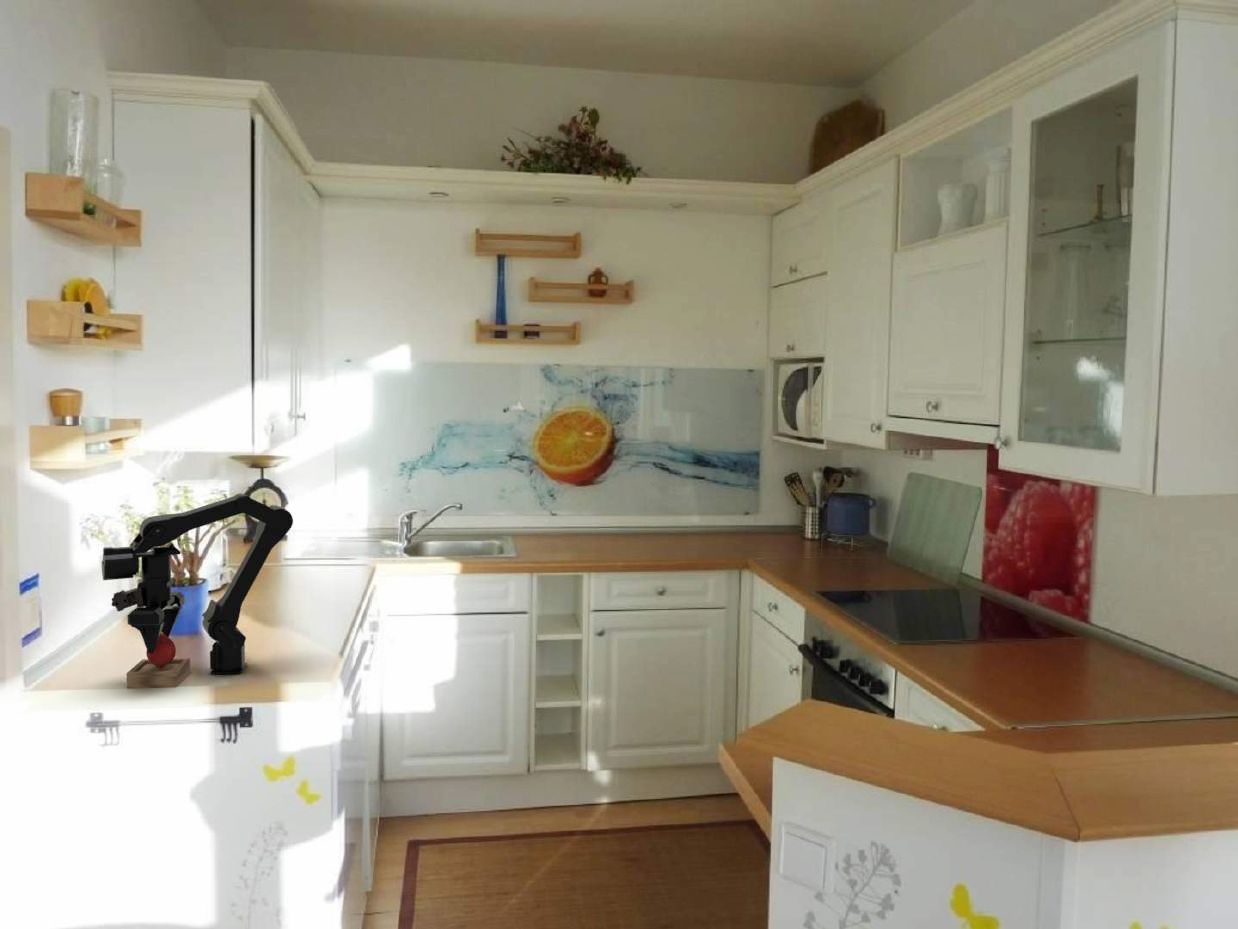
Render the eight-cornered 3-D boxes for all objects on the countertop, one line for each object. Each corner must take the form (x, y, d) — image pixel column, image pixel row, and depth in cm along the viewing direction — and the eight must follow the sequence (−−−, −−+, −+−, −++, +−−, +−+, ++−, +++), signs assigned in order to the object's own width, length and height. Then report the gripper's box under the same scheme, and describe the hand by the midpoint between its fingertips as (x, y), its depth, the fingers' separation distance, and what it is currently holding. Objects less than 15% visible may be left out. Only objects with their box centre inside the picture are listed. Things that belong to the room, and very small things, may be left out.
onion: (179, 666, 216) (180, 629, 216) (168, 671, 210) (169, 633, 210) (153, 665, 216) (154, 629, 216) (141, 670, 210) (142, 633, 210)
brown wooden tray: (190, 672, 219) (190, 658, 219) (176, 687, 209) (176, 672, 209) (143, 673, 217) (142, 659, 217) (126, 688, 208) (126, 673, 207)
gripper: (131, 567, 219) (133, 635, 220) (99, 585, 201) (101, 660, 202) (184, 567, 221) (185, 635, 222) (157, 585, 202) (159, 659, 204)
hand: (158, 646), depth 212 cm, fingers open, 9 cm apart
